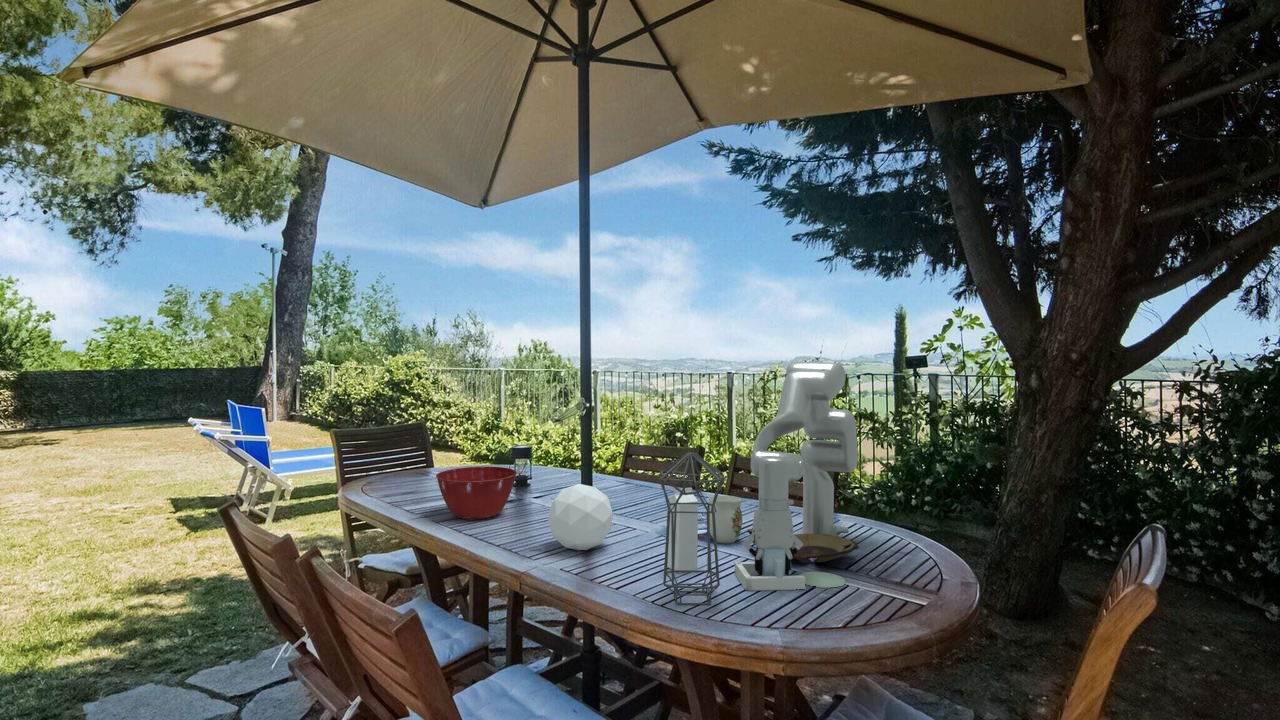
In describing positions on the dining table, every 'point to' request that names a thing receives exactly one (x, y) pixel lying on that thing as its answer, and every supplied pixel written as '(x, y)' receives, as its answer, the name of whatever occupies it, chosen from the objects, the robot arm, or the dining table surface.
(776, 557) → the jug
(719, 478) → the geometric lantern
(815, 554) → the oil lamp
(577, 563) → the dining table surface
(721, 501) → the pitcher
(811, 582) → the mat
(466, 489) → the mixing bowl
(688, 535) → the milk
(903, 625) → the dining table surface
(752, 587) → the holder
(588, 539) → the ball
